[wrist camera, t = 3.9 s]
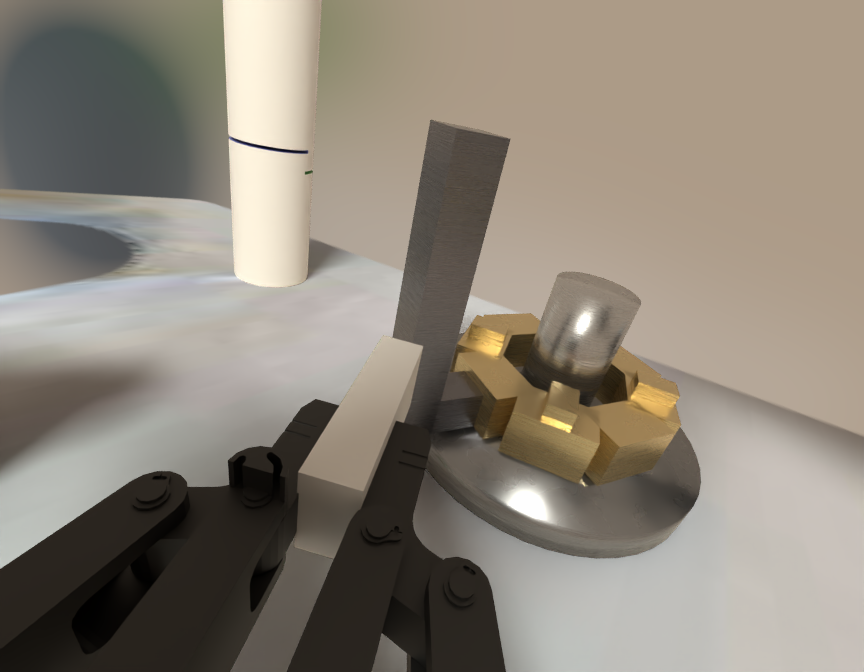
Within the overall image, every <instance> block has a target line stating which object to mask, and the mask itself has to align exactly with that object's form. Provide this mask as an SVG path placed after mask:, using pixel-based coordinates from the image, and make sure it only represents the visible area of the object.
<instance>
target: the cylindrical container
mask: <svg viewBox="0 0 864 672" xmlns="http://www.w3.org/2000/svg"><path fill="white" fill-rule="evenodd" d="M321 1H322V0H223V12H224V13H223V14H224V37H225V60H226V61H225V62H226V86H227V111H228V134H229V135H230V137H229V157H230V181H231V204H232V229H233V253H234V273H235V275H236V276H237V277H238V278H239V279H240V280H242V281H244V282H247V283H249V284H253V285H257V286H263V287H276V288H277V287H289V286H294V285H297V284H300V283H302V282H304V281H305V280H306V279H307V274H308V255H309V235H310V215H311V195H312V174H313V171H312V169H313V155H314V136H315V118H316V98H317V79H318V60H319V40H320V21H321Z"/></svg>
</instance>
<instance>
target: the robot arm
mask: <svg viewBox="0 0 864 672" xmlns="http://www.w3.org/2000/svg"><path fill="white" fill-rule="evenodd" d="M422 350H423V346H421V345H417V344H414V343H410V342H406V341H402V340H399V339H395V338H391V337H388V336H384V335H383V336H382V338H381V339H380V341H379V343H378V344H377V346H376V347H375V349H374V351H373V352H372V354H371V355H370V357H369V359H368V360H367V362H366V363H365V365H364V367H363V368H362V370H361V372H360V373H359V375H358V376H357V378H356V380H355V381H354V383H353V384H352V386H351V388H350V389H349V391H348V392H347V394H346V396H345V397H344V399H343V401H342V402H341V404H340V405H335V404H331V403H328V402H324V401H321V400H317V399H315V400H313V401H312V402H310V403H309V404H307V405H305V406H304V407H302V408H301V409H300V410H299V412H298V413H297V414H296V416H295V417H294V418H293V420H292V422H291V423H290V424H289V425H288V427H287V428H286V429H285V432H283V433H282V435H281V436H280V437H279V439H278V440H277V441H276V443H275V444H274V445H273V447H272V448H271V447H263V446H259V447H252V448H247V449H245V450H243V451H240V452H238V453H236V454H235V455H234V456H233V457H232V458H230V459H229V460H228V469H229V484H230V485H227V486H221V487H187V481H186V480H185V479H184V478H183V477H182V476H181V475H179V474H176V473H173V472H170V471H157V472H153V473H149V474H145V475H142V476H140V477H138V478H136V479H135V480H133V481H131V482H129V483H128V484H126V485H125V486H123V487H122V488H120V489H119V490H117V491H116V492H114V493H113V494H111V495H110V496H108V497H107V498H105V499H104V500H102V501H101V502H99V503H98V504H96V505H95V506H93V507H92V508H90V509H89V510H87V511H86V512H84V513H83V514H82V515H80V516H79V517H77V518H76V519H74V520H73V521H71V522H70V523H68V524H67V525H65V526H64V527H62V528H61V529H59V530H58V531H56V532H55V533H53V534H52V535H50V536H49V537H47V538H46V539H44V540H43V541H41V542H40V543H38V544H37V545H35V546H34V547H32V548H31V549H29V550H28V551H26V552H25V553H23V554H22V555H20V556H19V557H18V558H16V559H15V560H13V561H12V562H10V563H9V564H7V565H6V566H4V567H3V568H1V569H0V672H230V670H231V669H232V667H233V665H234V663H235V661H236V659H237V657H238V655H239V653H240V651H241V649H242V647H243V645H244V643H245V641H246V640H247V638H248V636H249V634H250V632H251V630H252V628H253V626H254V624H255V622H256V620H257V618H258V616H259V614H260V612H261V611H262V609H263V607H264V605H265V603H266V601H267V599H268V597H269V595H270V593H271V591H272V589H273V587H274V585H275V583H276V582H277V580H278V578H279V576H280V574H281V572H282V570H283V567H284V563H285V559H286V551H287V549H288V547H289V545H290V543H291V542H292V540H293V538H294V536H295V541H294V547H296V548H299V549H302V550H305V551H309V552H312V553H315V554H318V555H322V556H325V557H328V558H331V559H334V560H333V563H332V565H331V567H330V570H329V572H328V575H327V577H326V579H325V582H324V584H323V586H322V589H321V591H320V594H319V596H318V598H317V601H316V603H315V606H314V608H313V610H312V613H311V615H310V617H309V620H308V622H307V625H306V627H305V629H304V632H303V634H302V637H301V639H300V641H299V644H298V646H297V648H296V651H295V653H294V656H293V658H292V660H291V663H290V665H289V667H288V670H287V672H371V671H372V667H373V664H374V660H375V656H376V652H377V649H378V645H379V641H380V637H381V634H382V633H383V634H384V635H385V636H387V637H388V638H389V639H390V640H392V641H393V642H394V643H395V644H396V645H398V646H399V647H400V648H401V649H403V650H404V651H405V652H406V653H407V672H506V670H505V664H504V658H503V653H502V647H501V641H500V635H499V629H498V623H497V617H496V612H495V606H494V600H493V594H492V589H491V586H490V583H489V581H488V578H487V576H486V575H485V574H484V572H483V571H482V570H481V569H480V567H479V566H477V565H476V564H474V563H473V562H471V561H470V560H467V559H463V558H460V557H453V558H446V559H444V560H442V559H441V558H439V557H438V556H437V555H435V554H434V553H432V552H431V551H429V550H428V549H427V548H426V547H425V546H424V545H422V543H421V542H420V540H419V539H418V538H417V536H416V534H415V531H414V528H413V522H412V520H413V513H414V509H415V505H416V501H417V498H418V494H419V490H420V486H421V482H422V479H423V475H424V471H425V467H426V463H427V459H428V456H429V452H430V448H431V444H432V443H431V439H430V435H429V431H428V429H424V428H421V427H417V426H413V425H410V424H406V423H404V421H405V418H406V416H407V413H408V410H409V407H410V405H411V400H412V395H413V391H414V386H415V382H416V377H417V373H418V368H419V364H420V359H421V354H422Z"/></svg>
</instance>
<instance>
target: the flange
mask: <svg viewBox="0 0 864 672" xmlns="http://www.w3.org/2000/svg"><path fill="white" fill-rule="evenodd" d="M640 305H641V301H640V299H639V298H638V297H637V296H636V295H635V294H634V293H633V292H631V291H630V290H628V289H626V288H624V287H623V286H621V285H618V284H616V283H614V282H612V281H609V280H606V279H603V278H600V277H597V276H594V275H590V274H585V273H579V272H562V273H560V274H558V275H557V278H556V281H555V283H554V286H553V289H552V291H551V294H550V297H549V299H548V302H547V305H546V308H545V310H544V313H543V316H542V318H541V321H540V324H539V326H538V329H537V332H536V334H535V337H534V340H533V343H532V345H531V348H530V351H529V353H528V356H527V359H526V361H525V364H524V366H521V367H515V369H516V370H517V371H518V372H519V373H520V374H521V375H522V376H523V377H524V378H525V379H526V380H527V381H528V382H529V383H530V384H531V385H532V386H533V387H535V388H538V389H541V390H543V391H546V392H547V391H548V389H549V387H550V384H551V382H552V381H554V382H557V383H560V384H562V385H565V386H568V387H571V388H573V389H576V390H579V391H580V396H579V404H581V405H584V406H587V407H593V406H598V405H604V404H602V403H601V402H600V401H599V400H598V399H597V398H596V397H595V395H596V393H597V391H598V389H599V387H600V385H601V383H602V381H603V379H604V377H605V375H606V373H607V371H608V369H609V367H610V365H611V363H612V361H613V359H614V357H615V355H616V353H617V351H618V349H619V347H620V345H621V343H622V341H623V339H624V337H625V335H626V333H627V331H628V329H629V327H630V325H631V323H632V321H633V319H634V317H635V315H636V313H637V311H638V309H639V307H640ZM464 334H465V333H462V334H459V335H458V339H457V342H456V346H455V350H456V347H457V344H458V342H459V341H460V339H461V338H462V336H463V335H464ZM455 350H454V354H455ZM454 354H453V357H452V361H451V365H452V362H453V358H454ZM451 365H450V369H451ZM450 369H449V372H450ZM429 435H430V439H431V443H432V444H431V448H430V452H429V456H428V459H427V463H426V469H427V470H428V471H429V472H430V474H431V475H432V476H433V477H434V478H435V479H436V481H437V482H438V483H439V484H440V485H441V486H442V487H443V488H444V489H445V490H446V491H447V492H448V493H449V494H450V495H451V496H452V497H453V498H455V499H456V500H457V501H458V502H459V503H460V504H462V505H463V506H464V507H466V508H467V509H468V510H470V511H471V512H472V513H474V514H475V515H476V516H478V517H479V518H481V519H483V520H484V521H486V522H488V523H489V524H491V525H493V526H494V527H496V528H498V529H499V530H501V531H503V532H505V533H507V534H510V535H512V536H514V537H516V538H518V539H520V540H522V541H525V542H527V543H530V544H533V545H536V546H539V547H541V548H544V549H547V550H551V551H555V552H559V553H563V554H568V555H572V556H580V557H589V558H620V557H625V556H631V555H636V554H639V553H642V552H644V551H647V550H650V549H652V548H654V547H656V546H657V545H659V544H660V543H662V542H663V541H665V540H666V539H667V538H668V537H669V536H670V535H671V534H672V533H673V531H674V530H675V529H676V528H677V527H678V525H679V524H680V523H681V522H682V520H683V519H684V518H685V516H686V515H687V514H688V513H689V511H690V510H691V509H692V507H693V506H694V504H695V502H696V500H697V497H698V495H699V490H700V484H701V477H700V468H699V464H698V460H697V457H696V454H695V452H694V450H693V448H692V445H691V443H690V441H689V440H688V438H687V437H686V435H685V433H684V432H683V430H682V429H681V428H679V429H678V431H677V432H676V434H675V435H674V437H673V439H672V440H671V442H670V443H669V445H668V446H667V448H666V449H665V451H664V452H663V454H662V455H661V457H660V458H659V460H658V461H657V463H656V464H655V466H654V467H653V469H652V470H650V471H646V472H643V473H640V474H636V475H633V476H630V477H626V478H623V479H620V480H616V481H613V482H609V483H606V484H603V485H599V486H596V485H595V483H594V482H593V481H592V480H591V479H590V478H589V477H588V476H587V474H586V473H585V472H584V474H583V476H582V478H581V480H580V481H579V483H578V484H577V483H574V482H572V481H570V480H567V479H565V478H562V477H560V476H557V475H555V474H553V473H550V472H548V471H545V470H543V469H541V468H538V467H536V466H533V465H531V464H528V463H526V462H524V461H521V460H519V459H516V458H514V457H511V456H509V455H507V454H504V453H502V452H499V451H498V449H499V446H500V443H501V440H502V437H503V435H502V436H497V437H492V438H487V439H482V438H481V436H480V435H479V433H478V432H477V430H476V429H475V428H474V426H473V427H467V428H462V429H456V430H450V431H444V432H439V433H433V434H429Z"/></svg>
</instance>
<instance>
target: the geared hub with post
mask: <svg viewBox="0 0 864 672" xmlns="http://www.w3.org/2000/svg"><path fill="white" fill-rule="evenodd" d="M509 142H510V139H508V138H506V137H502V136H499V135H495V134H492V133H489V132H485V131H482V130H478V129H473V128H468V127H463V126H458V125H453V124H449V123H444V122H439V121H434V120H430V126H429V131H428V137H427V143H426V149H425V154H424V160H423V167H422V172H421V177H420V183H419V189H418V195H417V201H416V206H415V212H414V217H413V224H412V229H411V235H410V240H409V246H408V252H407V258H406V264H405V269H404V275H403V281H402V286H401V292H400V298H399V304H398V309H397V315H396V321H395V326H394V332H393V338H395V339H399V340H402V341H406V342H410V343H414V344H417V345H421V346H423V350H422V354H421V359H420V364H419V368H418V373H417V377H416V382H415V386H414V391H413V395H412V400H411V405H410V407H409V410H408V413H407V416H406V418H405V421H404V423H406V424H410V425H413V426H417V427H421V428H424V429H428V431H429V434H433V433H439V432H444V431H450V430H456V429H462V428H467V427H473V426H474V428H475V429H476V430H477V432H478V433H479V435H480V436H481V438H482V439H487V438H492V437H497V436H502V435H503V437H502V440H501V443H500V446H499V449H498V451H499V452H502V453H504V454H507V455H509V456H511V457H514V458H516V459H519V460H521V461H524V462H526V463H528V464H531V465H533V466H536V467H538V468H541V469H543V470H545V471H548V472H550V473H553V474H555V475H557V476H560V477H562V478H565V479H567V480H570V481H572V482H574V483H577V484H578V483H579V481H580V480H581V478H582V476H583V474H584V472H585V473H586V474H587V476H588V477H589V478H590V479H591V480H592V481H593V482H594V483H595V485H596V486H599V485H603V484H606V483H609V482H613V481H616V480H620V479H623V478H626V477H630V476H633V475H636V474H640V473H643V472H646V471H650V470H652V469H653V467H654V466H655V464H656V463H657V461H658V460H659V458H660V457H661V455H662V454H663V452H664V451H665V449H666V448H667V446H668V445H669V443H670V442H671V440H672V439H673V437H674V435H675V434H676V432H677V431H678V429H679V428H680V426H681V423H680V420H679V416H678V413H677V409H676V405H675V403H676V402H677V400H678V398H679V397H680V395H679V392H678V389H677V385H676V383H674V382H671V381H669V380H666V379H663V378H660V377H661V375H660V374H659V373H657V372H656V371H654V370H653V369H652V368H650V367H649V366H647V365H646V364H645V363H643V362H642V361H641V360H639V359H638V358H636V357H635V356H634V355H632V354H631V353H630V352H628V351H627V350H625V349H624V348H623V347H621V346H620V347H619V349H618V351H617V353H616V355H615V357H614V359H613V361H612V363H611V365H610V367H609V369H608V371H607V373H606V375H605V377H604V379H603V381H602V383H601V385H600V387H599V389H598V391H597V393H596V395H595V397H596V398H597V399H598V400H599V401H600V402H601V403H602V404H604V405H598V406H593V407H587V406H584V405H581V404H579V396H580V391H579V390H576V389H573V388H571V387H568V386H565V385H562V384H560V383H557V382H554V381H552V382H551V384H550V387H549V389H548V391H547V392H546V391H543V390H541V389H538V388H535V387H533V386H532V385H531V384H530V383H529V382H528V381H527V380H526V379H525V378H524V377H523V376H522V375H521V374H520V373H519V372H518V371H517V370H516V369H515V367H521V366H524V364H525V361H526V359H527V356H528V353H529V351H530V348H531V345H532V343H533V340H534V337H535V334H536V332H537V329H538V326H539V324H540V320H538V319H537V318H536V317H535V316H534V315H532V314H531V313H530V314H499V315H484V316H483V317H482V316H479V315H477V316H476V318H475V319H474V320H473V322H472V323H471V325H470V326H469V328H468V329H467V331H466V332H465V334H464V335H463V336H462V338H461V339H460V341H459V342H458V344H457V347H456V350H455V346H456V342H457V339H458V335H459V331H460V327H461V323H462V320H463V316H464V312H465V308H466V305H467V301H468V297H469V293H470V290H471V286H472V281H473V278H474V274H475V271H476V266H477V263H478V259H479V255H480V251H481V248H482V244H483V240H484V237H485V233H486V229H487V225H488V222H489V218H490V214H491V210H492V206H493V202H494V199H495V195H496V191H497V188H498V184H499V180H500V176H501V172H502V169H503V165H504V161H505V157H506V154H507V150H508V146H509ZM454 350H455V354H454ZM453 354H454V358H453V362H452V365H451V361H452V357H453ZM450 365H451V369H450ZM449 369H450V372H449Z"/></svg>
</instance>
